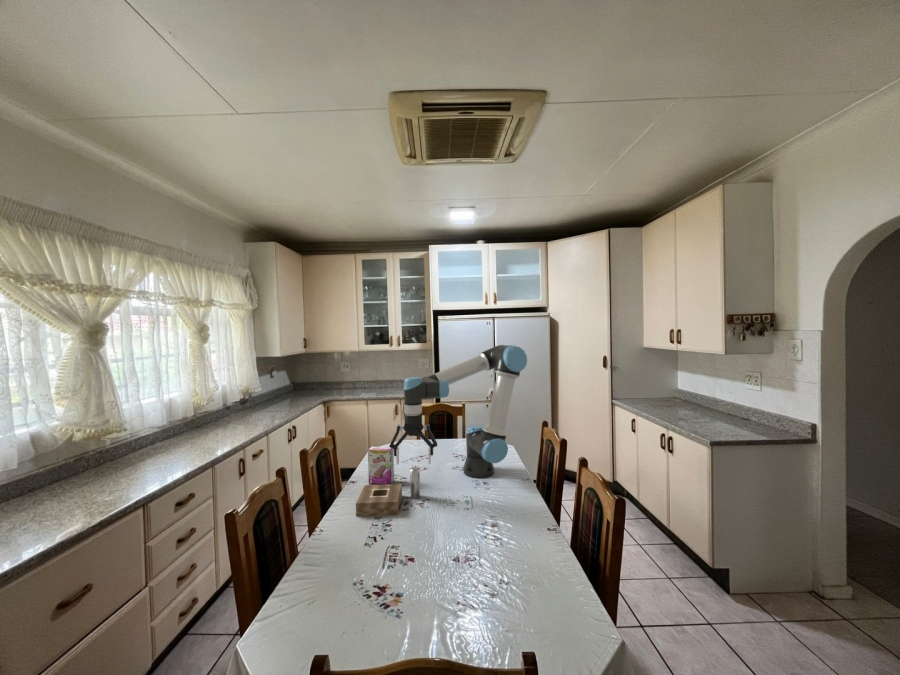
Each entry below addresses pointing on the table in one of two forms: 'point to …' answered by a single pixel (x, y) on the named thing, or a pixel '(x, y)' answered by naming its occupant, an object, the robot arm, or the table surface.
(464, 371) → the robot arm
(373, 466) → the candy bar box
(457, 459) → the table surface
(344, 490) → the table surface
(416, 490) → the pin
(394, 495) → the block
